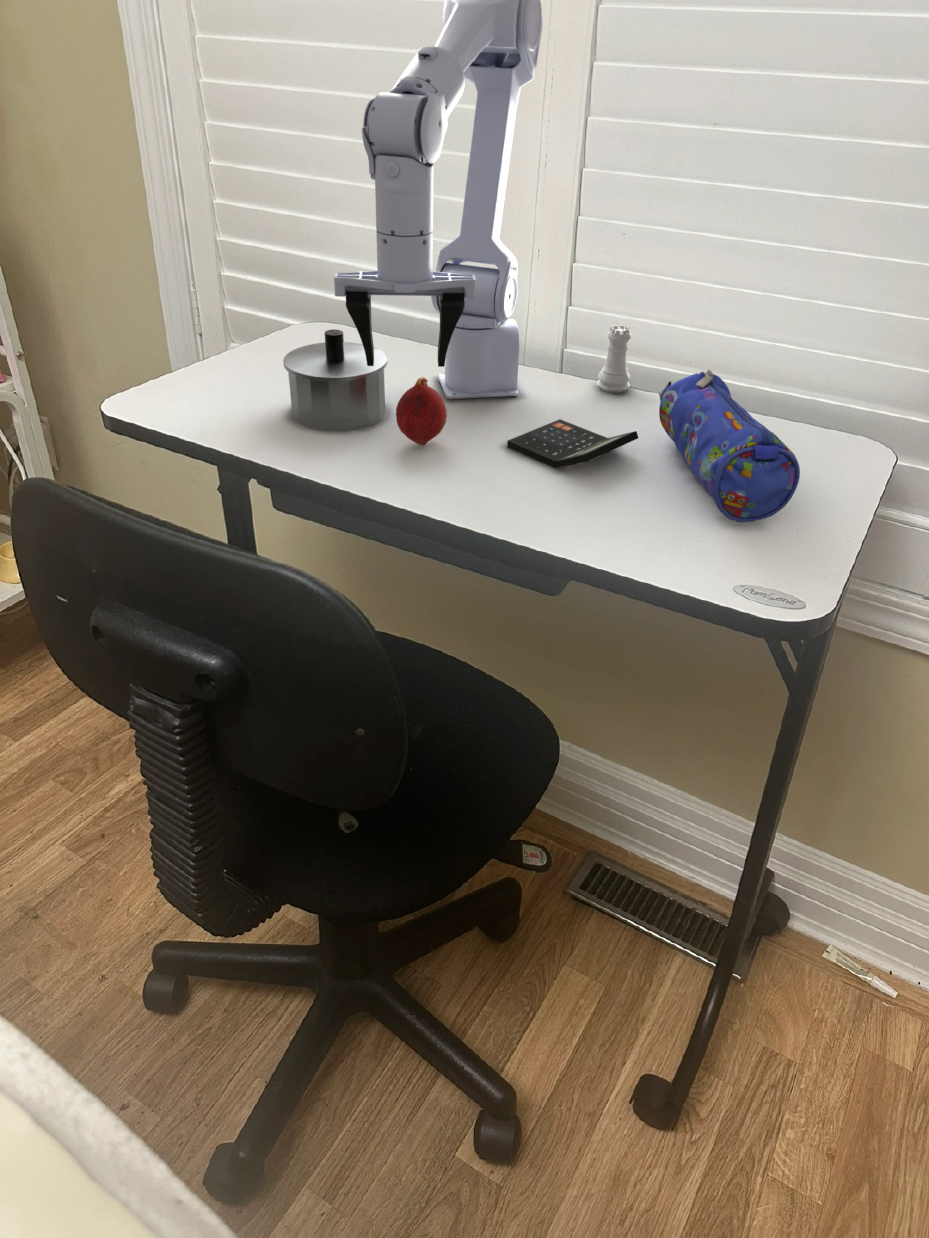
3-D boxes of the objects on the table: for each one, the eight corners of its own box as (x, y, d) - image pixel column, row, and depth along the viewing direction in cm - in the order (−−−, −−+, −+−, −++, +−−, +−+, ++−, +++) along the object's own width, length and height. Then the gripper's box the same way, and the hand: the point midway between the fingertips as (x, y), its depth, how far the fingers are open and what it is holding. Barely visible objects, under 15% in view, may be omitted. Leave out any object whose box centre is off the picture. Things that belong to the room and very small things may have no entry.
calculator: (559, 425, 111) (561, 402, 109) (635, 456, 104) (639, 432, 102) (507, 447, 105) (508, 423, 103) (584, 481, 99) (587, 456, 97)
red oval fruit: (439, 457, 102) (440, 390, 98) (391, 452, 103) (389, 385, 99) (450, 437, 107) (451, 371, 103) (403, 432, 108) (402, 367, 103)
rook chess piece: (635, 385, 122) (643, 326, 117) (621, 396, 119) (628, 335, 114) (605, 378, 124) (611, 320, 119) (590, 388, 121) (597, 329, 116)
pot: (380, 394, 118) (378, 345, 114) (389, 429, 109) (387, 378, 105) (291, 397, 116) (287, 348, 112) (293, 434, 107) (288, 382, 103)
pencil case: (649, 439, 108) (661, 361, 102) (719, 437, 109) (734, 359, 103) (710, 530, 90) (728, 442, 85) (792, 527, 91) (816, 439, 85)
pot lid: (382, 348, 115) (381, 314, 112) (392, 384, 105) (391, 348, 102) (283, 352, 113) (280, 317, 110) (284, 388, 103) (280, 351, 101)
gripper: (329, 238, 87) (336, 375, 95) (479, 241, 88) (474, 376, 96) (334, 223, 93) (340, 353, 101) (474, 225, 94) (470, 354, 101)
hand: (405, 363), depth 98 cm, fingers open, 7 cm apart
